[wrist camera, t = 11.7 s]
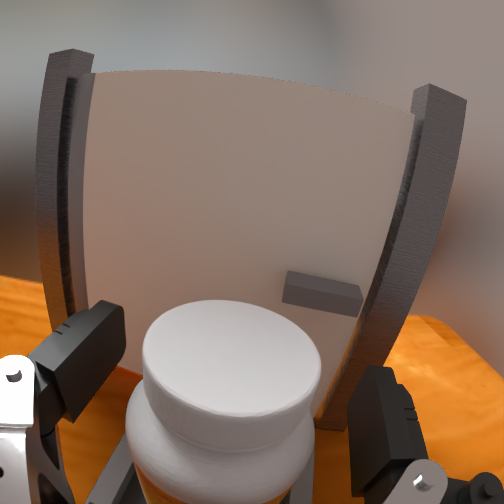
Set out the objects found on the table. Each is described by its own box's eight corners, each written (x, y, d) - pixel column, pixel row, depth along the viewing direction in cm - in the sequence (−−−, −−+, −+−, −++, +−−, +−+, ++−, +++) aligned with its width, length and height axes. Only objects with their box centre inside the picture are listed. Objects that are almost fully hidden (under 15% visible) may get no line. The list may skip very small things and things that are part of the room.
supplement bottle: (288, 524, 9) (400, 392, 6) (171, 560, 7) (137, 485, 3) (236, 442, 13) (278, 278, 10) (133, 463, 11) (102, 290, 7)
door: (67, 363, 15) (55, 71, 9) (91, 338, 18) (92, 78, 12) (313, 437, 14) (429, 111, 8) (313, 400, 17) (403, 116, 11)
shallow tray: (80, 534, 6) (71, 527, 6) (149, 406, 15) (148, 392, 14) (293, 592, 6) (302, 590, 5) (307, 444, 14) (314, 432, 14)
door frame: (56, 348, 17) (49, 53, 10) (70, 334, 18) (70, 58, 12) (343, 431, 15) (466, 100, 8) (342, 409, 17) (448, 103, 10)
